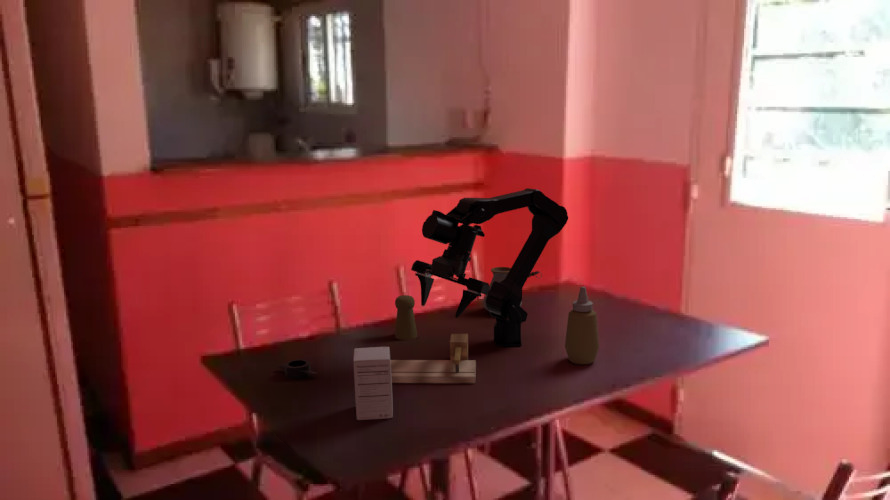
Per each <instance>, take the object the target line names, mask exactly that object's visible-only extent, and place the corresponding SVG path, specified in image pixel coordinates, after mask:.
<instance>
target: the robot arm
mask: <svg viewBox="0 0 890 500" xmlns="http://www.w3.org/2000/svg"><path fill="white" fill-rule="evenodd" d="M523 208H527V210H528V211H529V212H530V213H531V214H532V215H533V216H532V219H531V231H530V234H529V236H528V237H527V239H526V241H525V242H524V244H523V246H522V248H521V250H520V251H519V253H518V255H517V257H516V258H515V260H514V262H513V264H512V265H511V267H510V268H511V269H510V271H509V273H508V274H507V276H506V278H505V279H504V280H503V281H501V282H497V281H494V282H493V284H492V286H491V288H490V286H489V285H490V283H489V282H485V281H483V280H480V279H478V278H474V277H470V276H469V277H468V278H466V276H467V274H466V270H467V266H468V264H469V262H471V261H472V257H471V253H472V251H473V248H474V244H475V242H476V238H477V236H478V237H483V238H484V237H485V236H486V235H485V233H484V231H483V229H482V226H481V225H482V224H484V223H486V222H487V221H490V220H492V219H493V218H494V216H498V214H503V213H506V212H511V211H516V210H518V209H519V210H520V209H523ZM568 220H569V214H568V210H567V209H566V208H565V206H563V205H560V204H559V203H558V202H556V201H554V200H553V199H551V198H550V197H548V196H546V194H544V193H543V192H542V191H541V189H540V190H539V189H536V188H529V187H527V188H525V189H523V190H518V191H517V190H516V191H514V192H513V191H512V192H509V193H505V194H500V195H495V196H492V197H463V198H460V199H459V200H458V202H457V205H456V206H454V207H453V208H452V209H451V210H450V211H449V212H447V213H446V214H445V213H443V212H442V211H440V210H435V209H433V210H432V213H431V214H430V215H428V216H427V218H426V219H425V221H423V224H422V227H421V234H422V236H423V238H425V239H428V240H431V241H433V242H437V243H440V244H443V245H448V246H447V248H445V249H444V251H442V252H443V253H442V255H440V256H437V257H435V258H433V259H432V261H431V263H428V262H425V261H422V260H419V259H416V260H415V261H414V262H413V263H412V265H411V269H410V270H411V271H413V272H415V273H414V275H415V276H416V277H417V278H418V280H419V284H420V301H421V304H420V305H421V307H425V306H426V303H427V301H428V299H429V296H430V294H431V293H430V292H431V290H432V288H433V287H432V286H433V284H434V281H435V278H432V276H435V277H438V278H441V279H444V280H446V281H450V282H453V283H455V284H458V285H460V286H465V287H466V289H462V297H461V299H460V302H459V304H458V307H457V309H456V312H455V318H456V319H458V318H460V317H461V315H462V314H463V313H464V312H465V310H466V309H468V307H469V306H470V304H471V303H472V302H474V300H476V299H477V298H478V297H480V298H482V296H483V295H484V296H485V295H488V296H487V298H486V301H485V302H486V307H487V309H488V310H489V311H490V313H489V314H490V317H491V318H495V322H494V323H493V341H494V342H495V346H496V347H521V346H522V345H523V343H522V323H525V322H526V321H527V319H528V315H529V314H528V312H527V311H526V310H525V309H524V308H523V307H522V306H521V307H520V304H521V301H522V300H523V287H524V285H525V284H526V282H527V280H528V279H529V278H530V277H529V275H530V273H531V272H533V269H534V268H535V266H536V264H537V262H538V260H539V259H540V257H541V255H542V253H543V251H544V249H545V248H546V246H547V244H548V242H549V240H551V239H552V238H554V237H555V236H557V235H558V234H560V233H561V231H562V230H563V228H564V227H565V226H566V224H567V223H568ZM459 224H460V225H459ZM472 224H474V225H473V226H472ZM454 276H455V277H454ZM528 277H529V278H528ZM489 289H490V290H489ZM489 311H488V312H489Z"/></svg>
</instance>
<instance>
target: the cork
mask: <svg viewBox="0 0 890 500" xmlns="http://www.w3.org/2000/svg"><path fill="white" fill-rule="evenodd" d="M415 304H416V303H415V298H414V297H413V296H412V295H409V294H408V295H407V294H405V295H400V296H397V297H396V298H395V301H394V305H395V308H396V320H395V330H394V331H395V332H394V338H395V339H396V340H400V341H408V340H409V341H410V340H414V339H416V338H417V337H418V330H417V325H416V320H415V312H414V307H415Z"/></svg>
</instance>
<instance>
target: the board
mask: <svg viewBox="0 0 890 500" xmlns="http://www.w3.org/2000/svg"><path fill="white" fill-rule="evenodd" d="M390 361H391V377H392V384H476V375H477V374H476V372H477V371H476V370H477V360H476V359H473V360H471V359H468V360H460V364H459V372H456V370H455V364H454V360H450V359H402V360H401V359H390Z"/></svg>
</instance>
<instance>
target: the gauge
mask: <svg viewBox="0 0 890 500" xmlns="http://www.w3.org/2000/svg"><path fill="white" fill-rule="evenodd" d="M449 354H450V355H449V356H450V357H449V358H450V359H449V360H454V364H455V370H456V372H459V364H460V360H469V334H468V333H451V335H450V340H449Z"/></svg>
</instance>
